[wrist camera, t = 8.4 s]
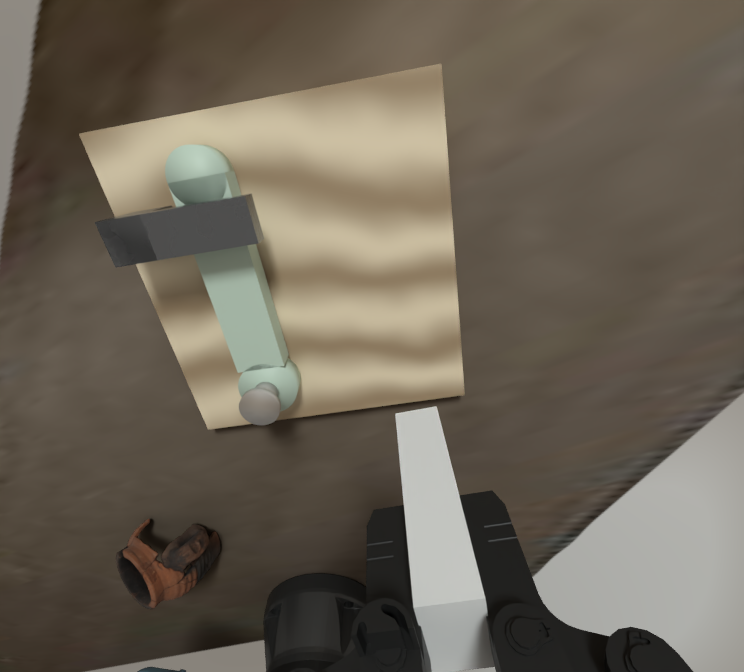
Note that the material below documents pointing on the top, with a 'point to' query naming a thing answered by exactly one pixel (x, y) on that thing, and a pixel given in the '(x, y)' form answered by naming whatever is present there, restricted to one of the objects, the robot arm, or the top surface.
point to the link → (235, 278)
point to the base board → (315, 242)
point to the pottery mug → (166, 565)
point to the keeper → (181, 230)
